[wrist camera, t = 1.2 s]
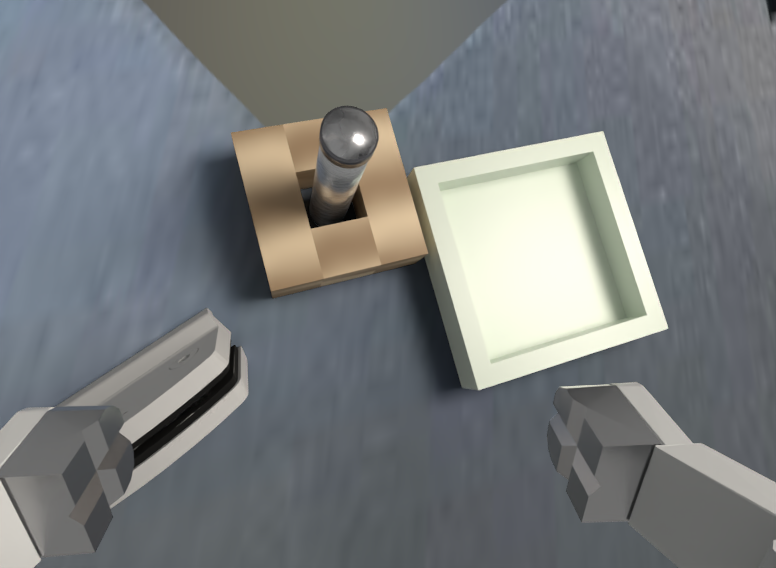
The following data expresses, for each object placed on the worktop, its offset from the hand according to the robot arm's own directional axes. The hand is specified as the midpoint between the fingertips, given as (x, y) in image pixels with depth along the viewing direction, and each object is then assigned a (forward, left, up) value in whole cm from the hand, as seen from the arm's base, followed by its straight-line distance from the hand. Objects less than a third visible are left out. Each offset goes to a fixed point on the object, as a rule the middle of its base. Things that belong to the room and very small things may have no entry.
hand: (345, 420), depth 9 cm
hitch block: (-12, +5, -29) cm, 32 cm away
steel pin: (-12, +5, -29) cm, 32 cm away
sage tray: (-4, +21, -29) cm, 36 cm away
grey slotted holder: (0, -12, -29) cm, 31 cm away
